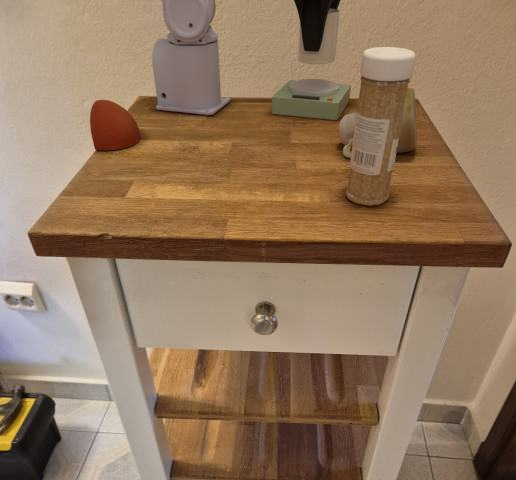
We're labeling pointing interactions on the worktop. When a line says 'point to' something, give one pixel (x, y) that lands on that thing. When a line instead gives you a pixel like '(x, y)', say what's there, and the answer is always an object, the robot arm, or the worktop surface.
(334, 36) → the white hollow cylinder
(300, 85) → the kitchen scale
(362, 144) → the sprinkles bottle
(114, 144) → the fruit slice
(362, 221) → the worktop surface
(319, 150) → the worktop surface
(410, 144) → the mug
